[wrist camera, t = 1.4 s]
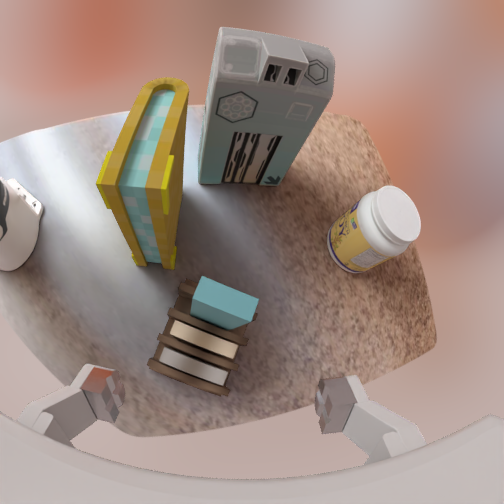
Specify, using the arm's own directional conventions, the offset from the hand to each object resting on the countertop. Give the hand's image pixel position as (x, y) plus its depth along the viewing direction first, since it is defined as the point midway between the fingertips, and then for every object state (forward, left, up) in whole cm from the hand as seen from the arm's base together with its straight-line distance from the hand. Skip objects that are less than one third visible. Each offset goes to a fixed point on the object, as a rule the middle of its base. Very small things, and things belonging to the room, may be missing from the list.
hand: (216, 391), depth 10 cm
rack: (-1, +3, -34) cm, 34 cm away
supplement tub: (+10, +36, -34) cm, 51 cm away
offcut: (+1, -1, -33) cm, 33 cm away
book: (-20, +13, -34) cm, 42 cm away
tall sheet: (-2, +6, -33) cm, 33 cm away
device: (-18, +32, -34) cm, 50 cm away
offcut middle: (-1, +3, -33) cm, 33 cm away
